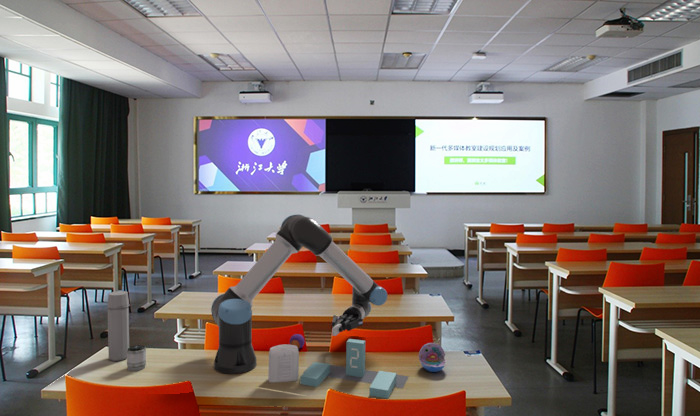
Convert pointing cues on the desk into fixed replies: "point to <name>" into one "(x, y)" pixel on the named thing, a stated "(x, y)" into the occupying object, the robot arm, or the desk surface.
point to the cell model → (432, 357)
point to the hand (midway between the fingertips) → (333, 332)
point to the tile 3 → (383, 384)
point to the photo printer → (283, 363)
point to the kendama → (297, 340)
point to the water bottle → (118, 325)
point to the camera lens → (136, 357)
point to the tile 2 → (355, 358)
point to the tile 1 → (315, 374)
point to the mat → (367, 378)
